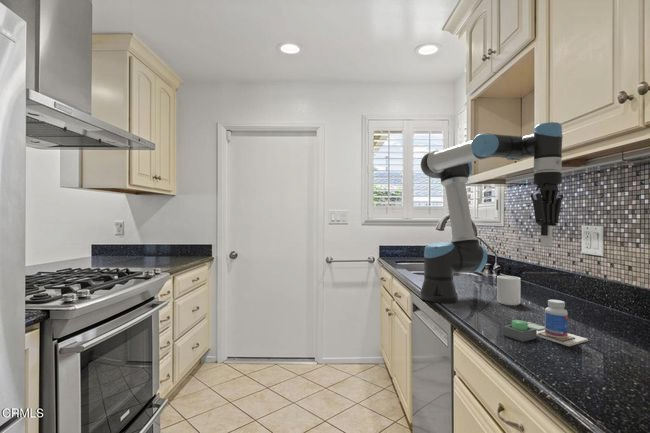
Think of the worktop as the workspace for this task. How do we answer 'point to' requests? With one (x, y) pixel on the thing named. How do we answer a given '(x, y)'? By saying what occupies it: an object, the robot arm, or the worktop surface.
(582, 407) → the worktop surface
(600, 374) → the worktop surface
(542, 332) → the white rectangular board
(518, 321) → the button
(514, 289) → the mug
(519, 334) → the button frame
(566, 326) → the pill bottle
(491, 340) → the worktop surface
